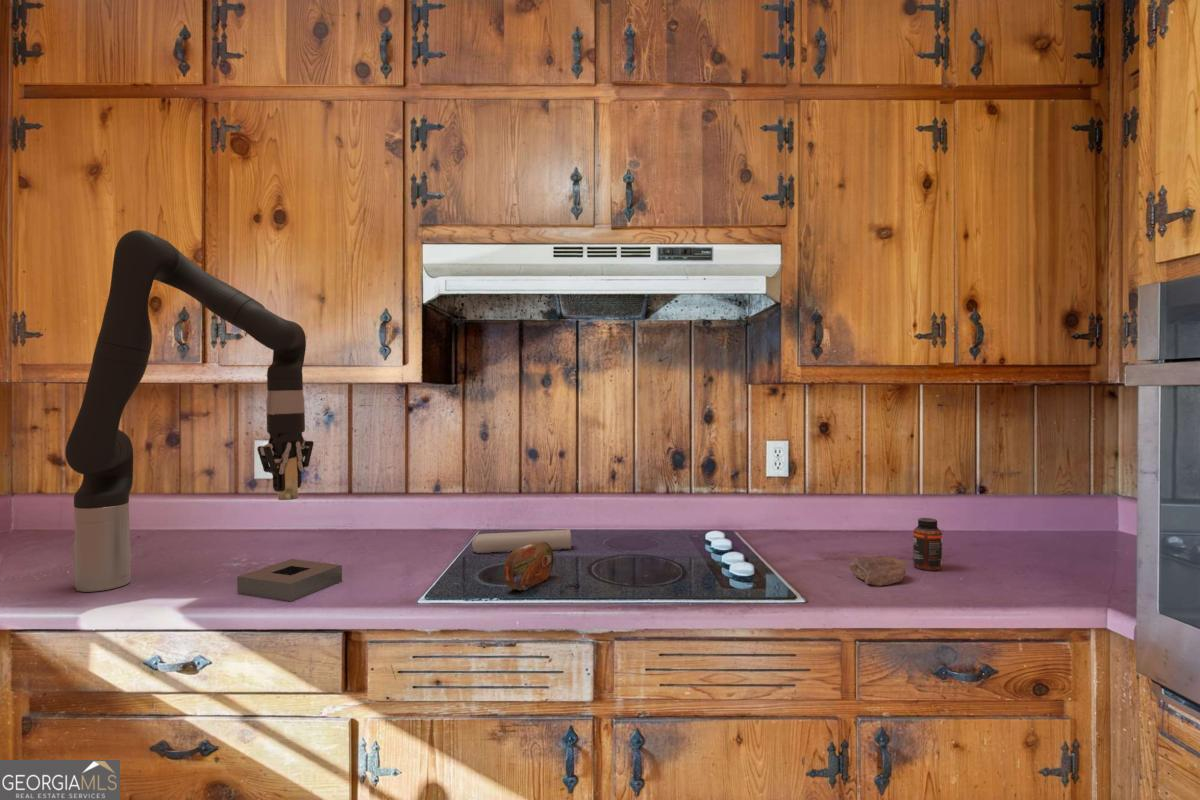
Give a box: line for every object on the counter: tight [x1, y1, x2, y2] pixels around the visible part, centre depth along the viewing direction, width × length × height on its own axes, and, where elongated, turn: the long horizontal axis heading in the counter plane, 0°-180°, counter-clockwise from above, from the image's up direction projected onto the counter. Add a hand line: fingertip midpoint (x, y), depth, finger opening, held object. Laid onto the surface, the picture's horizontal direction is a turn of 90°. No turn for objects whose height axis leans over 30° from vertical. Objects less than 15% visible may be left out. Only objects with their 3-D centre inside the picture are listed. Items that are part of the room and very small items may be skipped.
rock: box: [848, 555, 907, 587], centre depth 142 cm, size 12×10×5 cm
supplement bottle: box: [912, 517, 943, 572], centre depth 150 cm, size 6×6×11 cm
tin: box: [503, 542, 554, 592], centre depth 138 cm, size 15×3×8 cm, turn 151°
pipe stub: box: [277, 457, 299, 501], centre depth 142 cm, size 4×4×9 cm
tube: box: [471, 528, 572, 554], centre depth 166 cm, size 5×5×25 cm
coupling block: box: [236, 558, 343, 602], centre depth 136 cm, size 14×14×4 cm
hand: (287, 489), depth 143 cm, fingers closed on pipe stub, 4 cm apart
